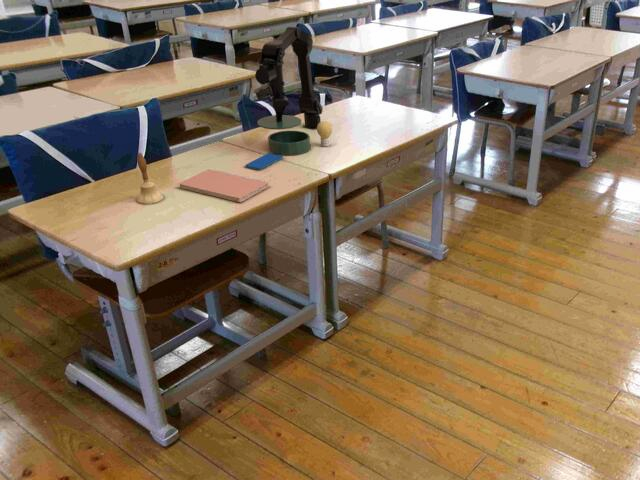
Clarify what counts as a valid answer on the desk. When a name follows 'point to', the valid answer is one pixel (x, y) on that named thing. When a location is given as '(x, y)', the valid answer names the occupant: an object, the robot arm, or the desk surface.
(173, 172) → the desk surface
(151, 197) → the hand bell
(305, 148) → the tin
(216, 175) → the notebook
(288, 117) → the tin lid
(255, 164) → the smartphone
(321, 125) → the light bulb
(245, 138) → the desk surface
